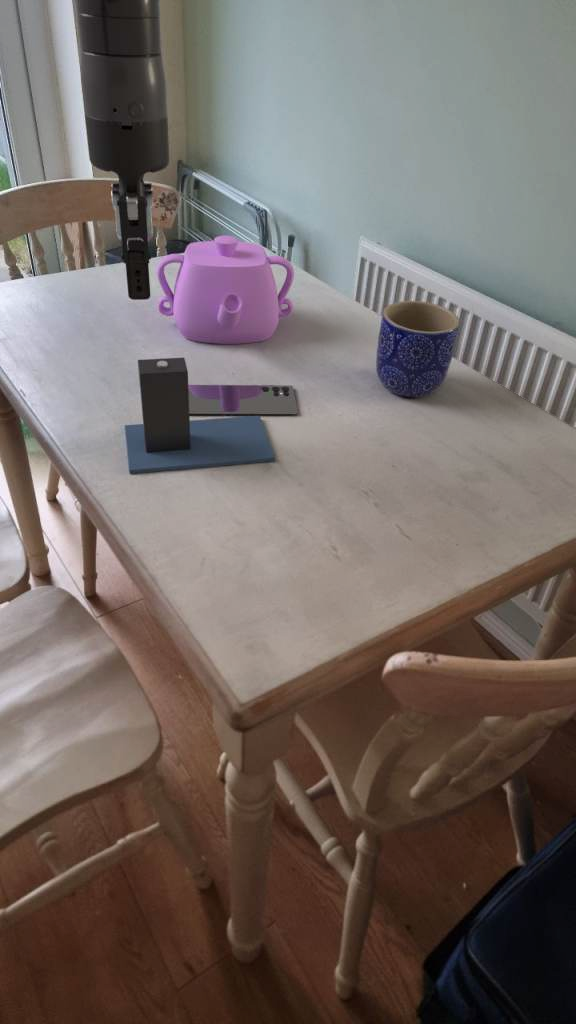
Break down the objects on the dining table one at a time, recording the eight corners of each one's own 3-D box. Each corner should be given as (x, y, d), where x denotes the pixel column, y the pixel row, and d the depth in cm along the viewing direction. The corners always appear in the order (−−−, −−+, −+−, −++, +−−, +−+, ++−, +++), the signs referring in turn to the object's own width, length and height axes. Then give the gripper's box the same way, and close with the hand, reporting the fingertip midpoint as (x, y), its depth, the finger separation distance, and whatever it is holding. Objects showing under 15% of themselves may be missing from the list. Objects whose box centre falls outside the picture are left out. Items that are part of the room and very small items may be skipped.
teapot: (230, 293, 127) (230, 211, 118) (314, 332, 117) (321, 246, 107) (145, 321, 116) (139, 234, 107) (230, 367, 106) (230, 274, 96)
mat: (129, 474, 84) (129, 470, 83) (125, 428, 91) (124, 425, 91) (274, 461, 87) (275, 457, 87) (259, 419, 95) (259, 415, 94)
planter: (401, 362, 110) (414, 294, 103) (458, 389, 105) (475, 319, 97) (356, 383, 104) (366, 312, 97) (414, 413, 98) (429, 340, 91)
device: (146, 453, 86) (139, 371, 79) (144, 437, 89) (137, 357, 82) (190, 449, 87) (187, 369, 80) (187, 434, 90) (184, 354, 83)
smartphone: (182, 384, 100) (292, 383, 101) (182, 387, 100) (292, 387, 102) (180, 412, 94) (297, 411, 96) (181, 416, 94) (297, 414, 96)
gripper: (87, 93, 68) (104, 258, 79) (80, 125, 58) (101, 310, 68) (164, 96, 70) (171, 258, 80) (171, 127, 59) (178, 309, 69)
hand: (139, 282), depth 74 cm, fingers open, 8 cm apart
